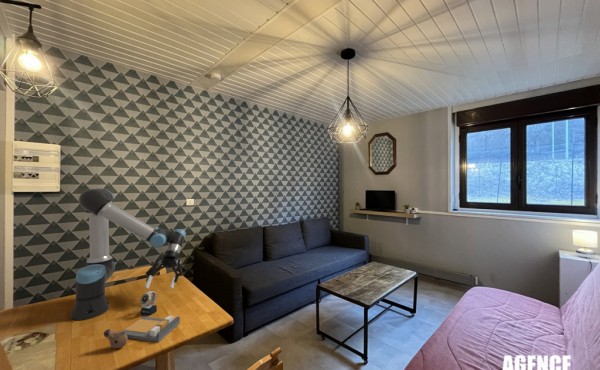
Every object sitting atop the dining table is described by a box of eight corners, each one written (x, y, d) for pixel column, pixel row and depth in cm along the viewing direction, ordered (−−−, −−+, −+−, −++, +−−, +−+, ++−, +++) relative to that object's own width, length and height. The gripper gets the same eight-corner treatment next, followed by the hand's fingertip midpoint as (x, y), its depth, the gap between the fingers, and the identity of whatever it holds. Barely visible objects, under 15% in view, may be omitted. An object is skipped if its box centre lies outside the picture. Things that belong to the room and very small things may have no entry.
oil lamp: (100, 352, 97) (100, 332, 97) (106, 345, 101) (106, 326, 101) (124, 350, 99) (125, 330, 99) (129, 343, 103) (130, 324, 103)
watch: (137, 316, 123) (138, 295, 123) (150, 308, 131) (150, 288, 131) (147, 317, 122) (147, 296, 122) (159, 309, 130) (159, 289, 130)
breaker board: (118, 336, 107) (118, 327, 107) (143, 319, 121) (143, 311, 121) (158, 342, 104) (159, 332, 104) (179, 323, 118) (179, 315, 118)
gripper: (194, 256, 151) (183, 290, 137) (154, 255, 150) (138, 290, 136) (191, 250, 146) (179, 285, 131) (149, 249, 145) (132, 285, 130)
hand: (158, 287), depth 133 cm, fingers open, 13 cm apart
